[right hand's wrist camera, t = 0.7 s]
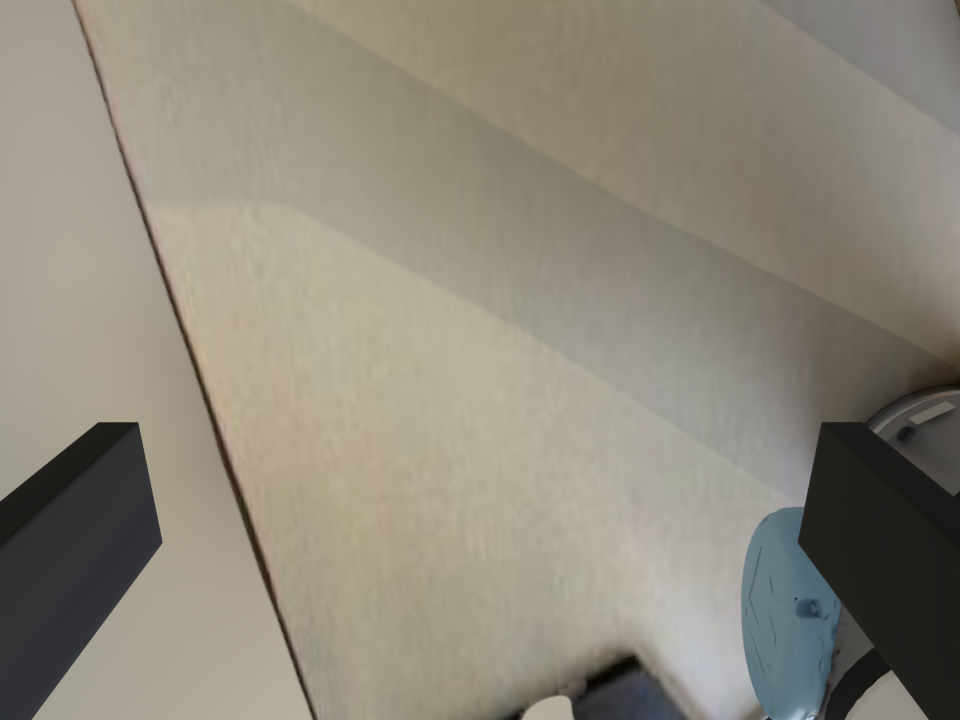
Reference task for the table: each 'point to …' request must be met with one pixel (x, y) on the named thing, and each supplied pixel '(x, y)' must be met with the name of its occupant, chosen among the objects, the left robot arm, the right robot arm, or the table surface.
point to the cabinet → (958, 5)
